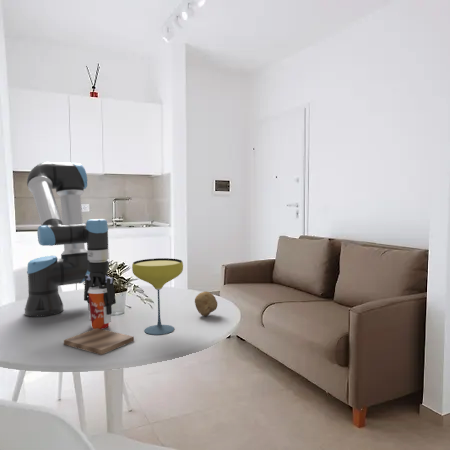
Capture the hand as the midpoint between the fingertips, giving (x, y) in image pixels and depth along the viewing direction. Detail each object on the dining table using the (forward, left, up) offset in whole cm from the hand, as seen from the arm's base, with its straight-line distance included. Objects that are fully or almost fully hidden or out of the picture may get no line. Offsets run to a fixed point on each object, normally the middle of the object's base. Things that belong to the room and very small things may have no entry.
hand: (100, 321), depth 154 cm
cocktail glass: (+22, +8, -2) cm, 24 cm away
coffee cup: (0, 0, -2) cm, 2 cm away
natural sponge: (+27, +31, -2) cm, 41 cm away
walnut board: (+13, -12, -2) cm, 18 cm away
